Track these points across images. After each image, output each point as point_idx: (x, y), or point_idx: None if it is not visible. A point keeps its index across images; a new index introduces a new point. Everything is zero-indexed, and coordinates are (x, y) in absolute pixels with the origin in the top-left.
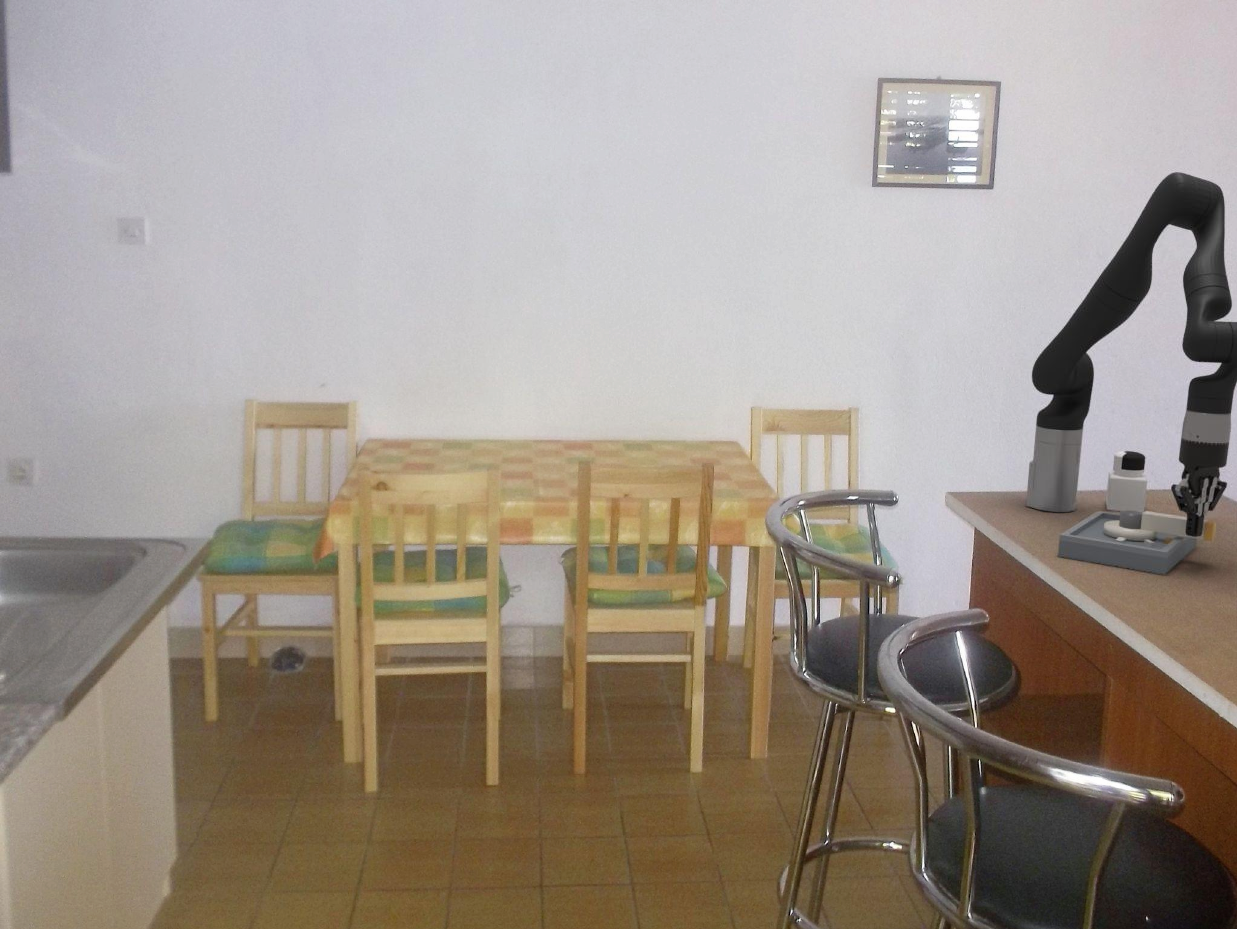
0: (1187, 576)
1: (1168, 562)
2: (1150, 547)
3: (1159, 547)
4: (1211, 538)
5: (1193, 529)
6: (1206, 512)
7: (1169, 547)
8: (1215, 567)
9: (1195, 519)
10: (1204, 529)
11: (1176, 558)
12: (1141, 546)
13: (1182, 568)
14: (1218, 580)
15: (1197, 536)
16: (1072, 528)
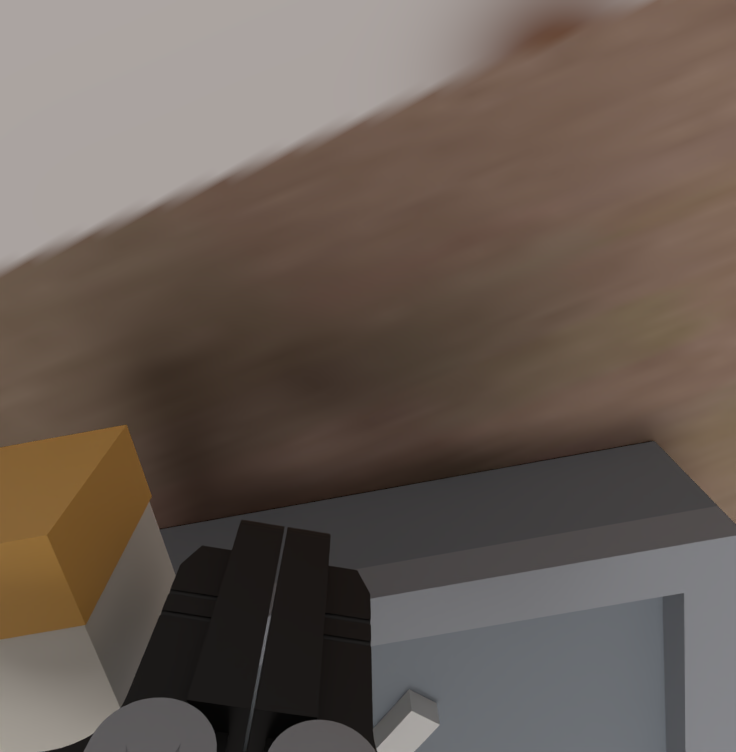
0: (572, 330)
1: (593, 492)
2: (477, 686)
3: (425, 653)
4: (118, 443)
5: (360, 607)
6: (156, 735)
7: (558, 583)
8: (157, 300)
9: (342, 707)
10: (119, 563)
11: (334, 523)
12: (686, 707)
13: (387, 435)
14: (514, 130)
15: (292, 530)
16: None
